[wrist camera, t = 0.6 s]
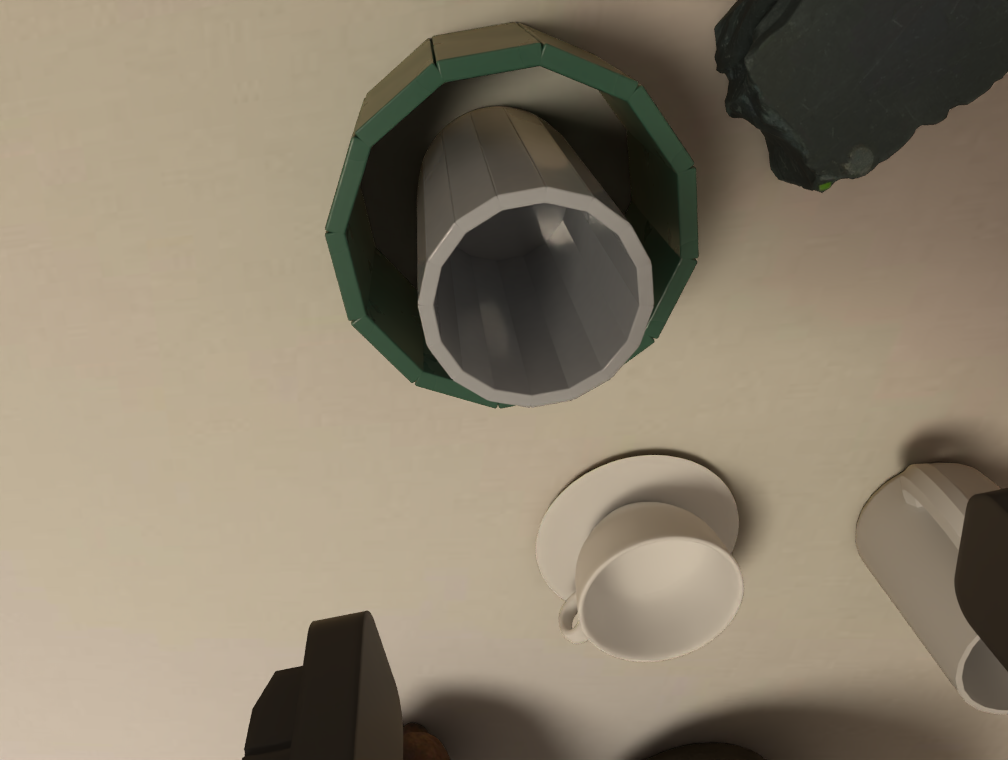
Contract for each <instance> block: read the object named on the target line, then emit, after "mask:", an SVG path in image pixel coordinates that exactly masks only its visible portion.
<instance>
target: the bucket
mask: <svg viewBox="0 0 1008 760" xmlns="http://www.w3.org/2000/svg"><path fill="white" fill-rule="evenodd" d="M536 66H542V67H544V68H546V69H549V70H551V71H554V72H556V73H559V74H561V75H563V76H566V77H568V78H571V79H573V80H576V81H578V82H580V83H583V84H585V85H588V86H590V87H593V88H595V89H597V90H599V92H600V93H601V94H602V96H603V97H604V99H605V100H606V102H607V103H608V104H609V106H610V107H611V109H612V110H613V112H614V113H615V114H616V116H617V117H618V119H619V120H620V122H621V123H622V124H623V126H624V127H625V129H626V130H627V144H628V157H629V171H630V185H631V199H632V201H631V203H630V205H629V207H628V209H627V212H626V214H625V217H626V219H627V220H628V221H629V223H630V224H631V225H632V227H633V229H634V231H635V232H636V234H637V236H638V238H639V240H640V242H641V244H642V245H643V247H644V249H645V251H646V253H647V255H648V257H649V258H650V260H651V264H652V276H653V293H654V307H653V310H652V313H651V316H650V318H649V321H648V324H647V327H646V330H645V332H644V335H643V338H642V341H641V344H640V345H639V347H638V348H637V350H636V351H635V352H634V353H633V354H632V355H631V356H630V358H629V359H628V360H627V361H626V362H625V363H627V362H628V361H629V360H631V359H632V358H633V357H635V356H636V355H638V354H639V353H640V352H642V351H643V350H644V349H646V348H647V347H649V346H650V345H651V344H653V343H654V339H653V338H655V339H657V338H658V337H659V335H660V333H661V331H662V329H663V328H664V326H665V324H666V322H667V320H668V318H669V316H670V314H671V312H672V310H673V308H674V306H675V304H676V303H677V301H678V299H679V297H680V295H681V293H682V291H683V289H684V287H685V285H686V283H687V281H688V279H689V278H690V276H691V274H692V272H693V270H694V268H695V266H696V264H697V260H696V259H695V258H698V256H699V250H698V217H697V184H696V168H695V167H694V166H693V165H694V161H693V160H692V158H691V157H690V155H689V154H688V152H687V151H686V149H685V148H684V146H683V145H682V143H681V142H680V140H679V139H678V137H677V136H676V134H675V133H674V131H673V130H672V128H671V127H670V125H669V124H668V123H667V121H666V120H665V118H664V117H663V115H662V114H661V112H660V111H659V109H658V108H657V106H656V105H655V103H654V102H653V100H652V99H651V97H650V96H649V94H648V93H647V91H646V90H645V88H644V87H643V86H642V85H641V84H639V83H638V81H636V80H635V79H633V78H631V77H630V76H628V75H626V74H625V73H623V72H622V71H620V70H618V69H617V68H615V67H614V66H612V65H610V64H609V63H607V62H605V61H604V60H602V59H601V58H599V57H597V56H596V55H594V54H592V53H590V52H588V51H585V50H583V49H581V48H578V47H576V46H574V45H571V44H569V43H566V42H564V41H562V40H559V39H557V38H555V37H552V36H550V35H548V34H545V33H543V32H540V31H538V30H536V29H533V28H531V27H529V26H526V25H524V24H522V23H518V24H516V23H515V22H510V23H505V24H499V25H493V26H488V27H482V28H476V29H471V30H465V31H459V32H454V33H448V34H442V35H437V36H433V37H432V41H431V40H430V39H429V38H428V39H427V40H426V41H425V42H423V43H422V44H421V45H420V46H419V47H418V48H417V49H416V50H415V51H414V52H412V53H411V54H410V55H409V56H408V57H407V58H406V59H405V60H404V61H403V62H401V63H400V64H399V65H398V66H397V67H396V68H395V69H394V70H393V71H392V72H390V73H389V74H388V75H387V76H386V77H385V78H384V79H383V80H382V81H380V82H379V83H378V84H377V85H376V86H375V87H374V88H373V89H372V90H371V91H369V92H368V93H367V96H366V98H365V99H364V101H363V104H362V107H361V110H360V113H359V116H358V119H357V122H356V125H355V128H354V132H353V135H352V138H351V141H350V144H349V148H348V151H347V155H346V158H345V162H344V165H343V168H342V172H341V175H340V179H339V182H338V185H337V189H336V192H335V196H334V199H333V203H332V206H331V209H330V213H329V216H328V220H327V223H326V226H325V230H326V233H325V237H326V241H327V244H328V248H329V252H330V255H331V259H332V262H333V266H334V270H335V273H336V277H337V281H338V284H339V288H340V292H341V295H342V299H343V302H344V306H345V310H346V313H347V317H348V320H349V321H351V320H352V321H351V324H352V326H353V327H354V328H355V329H356V330H357V331H358V332H360V333H361V334H362V335H363V336H364V337H365V338H366V339H367V340H368V341H369V342H370V343H371V344H372V345H373V346H374V347H375V348H376V349H377V350H378V351H379V352H380V353H381V354H382V355H383V356H384V357H385V358H386V359H387V360H388V361H389V362H390V363H391V364H392V365H394V366H395V367H396V368H397V369H398V370H399V371H400V372H401V373H402V374H403V375H404V376H405V377H406V378H407V379H408V380H409V381H410V382H411V383H414V382H415V385H416V386H418V387H422V388H425V389H429V390H432V391H436V392H440V393H443V394H447V395H450V396H454V397H457V398H461V399H464V400H468V401H471V402H475V403H478V404H482V405H485V406H489V407H492V408H497V406H499V408H506V407H511V406H516V405H510V404H504V403H498V402H492V401H489V400H486V399H484V398H483V397H481V396H479V395H477V394H476V393H474V392H472V391H471V390H469V389H467V388H465V387H464V386H462V385H460V384H459V383H457V382H455V381H453V379H451V378H450V376H449V375H448V374H447V372H446V371H445V370H444V368H443V367H442V366H441V364H440V363H439V362H438V360H437V359H436V358H435V356H434V355H433V354H432V352H431V351H430V350H429V348H428V346H427V345H426V340H425V336H424V331H423V327H422V323H421V318H420V314H419V309H418V291H417V290H416V289H415V288H414V287H413V286H412V284H411V283H410V282H409V281H408V280H407V279H406V278H405V277H404V276H403V275H402V274H401V273H400V272H399V271H398V270H397V269H396V268H395V267H394V266H393V264H392V263H391V262H390V261H389V260H388V259H387V258H386V257H385V256H384V255H383V254H382V253H381V252H380V251H379V250H378V249H377V248H376V247H375V243H374V239H373V234H372V230H371V226H370V222H369V218H368V214H367V210H366V206H365V202H364V198H363V193H362V189H361V185H360V184H361V180H362V177H363V174H364V171H365V167H366V164H367V161H368V158H369V154H370V151H371V148H372V146H373V145H374V144H376V143H377V142H378V141H379V140H380V139H381V138H382V137H383V136H385V135H386V134H387V133H388V132H389V131H390V130H391V129H392V128H394V127H395V126H396V125H397V124H398V123H399V122H400V121H402V120H403V119H404V118H405V117H406V116H407V115H408V114H409V113H411V112H412V111H413V110H414V109H415V108H416V107H417V106H418V105H420V104H421V103H422V102H423V101H424V100H425V99H426V98H427V97H429V96H430V95H431V94H432V93H433V92H434V91H435V90H437V89H438V88H439V87H440V86H441V85H442V84H443V83H446V82H451V81H457V80H463V79H468V78H474V77H480V76H485V75H491V74H497V73H502V72H508V71H514V70H519V69H525V68H531V67H536ZM625 363H624V364H625Z"/></svg>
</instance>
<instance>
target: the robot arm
mask: <svg viewBox="0 0 1008 760" xmlns="http://www.w3.org/2000/svg"><path fill="white" fill-rule="evenodd" d="M954 587H955V593H956V597H957V601H958V604H959V606H960V609H961V611H962V613H963V615H964V617H965V619H966V620H967V622H968V623H969V625H970V626H971V627H972V629H973V630H974V631H975V632H976V634H977V635H978V636H979V637H980V639H981V640H982V641H983V642H984V643H985V645H986V646H987V647H988V648H989V650H990V651H991V652H992V653H993V655H994V656H995V657H996V658H997V659H998V661H999V662H1000V663H1001V664H1002V666H1003V667H1004V668H1005V669H1006V670H1007V672H1008V488H1005V489H1000V490H994V491H989V492H984V493H979V494H975V495H973V496H972V497H971V498H970V499H969V501H968V503H967V506H966V511H965V517H964V523H963V529H962V535H961V541H960V546H959V552H958V558H957V564H956V570H955V577H954ZM244 750H245V757H243V758H242V760H403V722H402V712H401V705H400V699H399V695H398V690H397V687H396V683H395V680H394V677H393V675H392V672H391V669H390V666H389V663H388V660H387V657H386V654H385V651H384V648H383V645H382V642H381V639H380V636H379V633H378V631H377V628H376V625H375V622H374V619H373V617H372V615H371V613H370V612H369V611H364V612H358V613H353V614H348V615H343V616H338V617H333V618H328V619H323V620H317V621H313V622H312V623H311V625H310V627H309V630H308V636H307V642H306V649H305V656H304V663H303V666H300V667H295V668H290V669H285V670H280V671H276V672H275V673H274V675H273V677H272V678H271V680H270V681H269V683H268V685H267V686H266V688H265V690H264V691H263V693H262V694H261V696H260V698H259V699H258V701H257V702H256V704H255V706H254V707H253V709H252V714H251V719H250V724H249V728H248V733H247V738H246V743H245V748H244Z"/></svg>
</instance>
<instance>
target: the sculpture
mask: <svg viewBox="0 0 1008 760" xmlns="http://www.w3.org/2000/svg"><path fill="white" fill-rule="evenodd" d="M403 760H450V758H449V755H448V753H447V751H446V750H445V748H444V746H443V745H442V743H441V742H440V740H439V739H438V738H436V737H435V736H433V735H431V734H429V733H428V732H427V731H426V729H425V728H424V727H423V726H422V725H420V724H417V723H409V724H407V725H405V726H404V727H403Z"/></svg>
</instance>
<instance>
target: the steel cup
mask: <svg viewBox="0 0 1008 760" xmlns="http://www.w3.org/2000/svg"><path fill="white" fill-rule="evenodd" d="M417 267H418V309H419V314H420V318H421V323H422V327H423V331H424V336H425V340H426V345H427V346H428V348H429V350H430V351H431V352H432V354H433V355H434V356H435V358H436V359H437V360H438V362H439V363H440V364H441V366H442V367H443V368H444V370H445V371H446V372H447V374H448V375H449V376H450V378H451V379H453V381H455V382H457V383H459V384H460V385H462V386H464V387H465V388H467V389H469V390H471V391H472V392H474V393H476V394H477V395H479V396H481V397H483V398H484V399H486V400H489V401H492V402H498V403H504V404H510V405H516V406H522V407H528V408H530V407H532V408H533V407H538V406H544V405H549V404H555V403H560V402H566V401H571V400H573V399H576V398H578V397H580V396H581V395H583V394H585V393H587V392H589V391H590V390H592V389H594V388H596V387H597V386H599V385H601V384H603V383H605V382H606V381H608V380H610V379H611V378H612V377H613V376H614V375H615V374H616V373H617V371H618V370H619V369H620V368H621V367H622V366H623V365H624V363H625V362H626V361H627V360H628V359H629V358H630V356H631V355H632V354H633V353H634V352H635V351H636V350H637V348H638V347H639V345H640V344H641V341H642V338H643V335H644V332H645V330H646V327H647V324H648V321H649V318H650V316H651V313H652V310H653V307H654V293H653V276H652V264H651V260H650V258H649V257H648V255H647V253H646V251H645V249H644V247H643V245H642V244H641V242H640V240H639V238H638V236H637V234H636V232H635V231H634V229H633V227H632V225H631V224H630V223H629V221H628V220H627V219H626V217H625V216H624V215H623V214H622V212H621V211H620V210H619V208H618V207H617V206H616V204H615V203H614V202H613V201H612V199H611V198H610V197H609V195H608V194H607V193H606V191H605V190H604V189H603V188H602V186H601V185H600V184H599V182H598V181H597V180H596V178H595V177H594V176H593V175H592V173H591V172H590V171H589V169H588V168H587V167H586V166H585V164H584V163H583V162H582V160H581V159H580V158H579V156H578V155H577V154H576V153H575V151H574V150H573V149H572V147H571V146H570V145H569V143H568V142H567V141H566V140H565V138H564V137H563V136H562V135H561V134H560V133H559V132H558V131H557V130H555V129H554V128H553V127H552V126H551V125H550V124H549V123H548V122H546V121H545V120H543V119H542V118H540V117H539V116H537V115H535V114H532V113H530V112H528V111H525V110H522V109H519V108H513V107H507V106H493V107H485V108H481V109H477V110H474V111H471V112H469V113H466V114H464V115H462V116H460V117H459V118H457V119H455V120H454V121H452V122H451V123H450V124H448V125H447V126H446V127H445V128H444V129H443V130H442V131H441V132H440V133H439V134H438V135H437V136H436V138H435V139H434V140H433V142H432V143H431V145H430V147H429V148H428V150H427V152H426V154H425V157H424V159H423V161H422V165H421V169H420V173H419V181H418V187H417Z"/></svg>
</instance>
